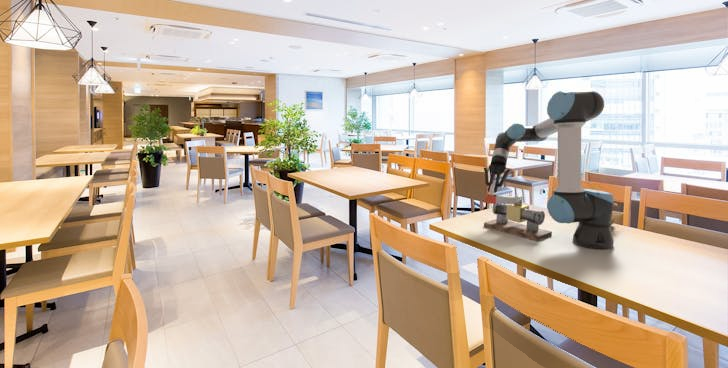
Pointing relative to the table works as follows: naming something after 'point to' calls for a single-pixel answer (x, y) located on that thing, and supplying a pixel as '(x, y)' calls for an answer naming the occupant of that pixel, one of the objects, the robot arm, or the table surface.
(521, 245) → the table surface
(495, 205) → the pipe and valve body
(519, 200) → the valve lever
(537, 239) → the walnut base board
